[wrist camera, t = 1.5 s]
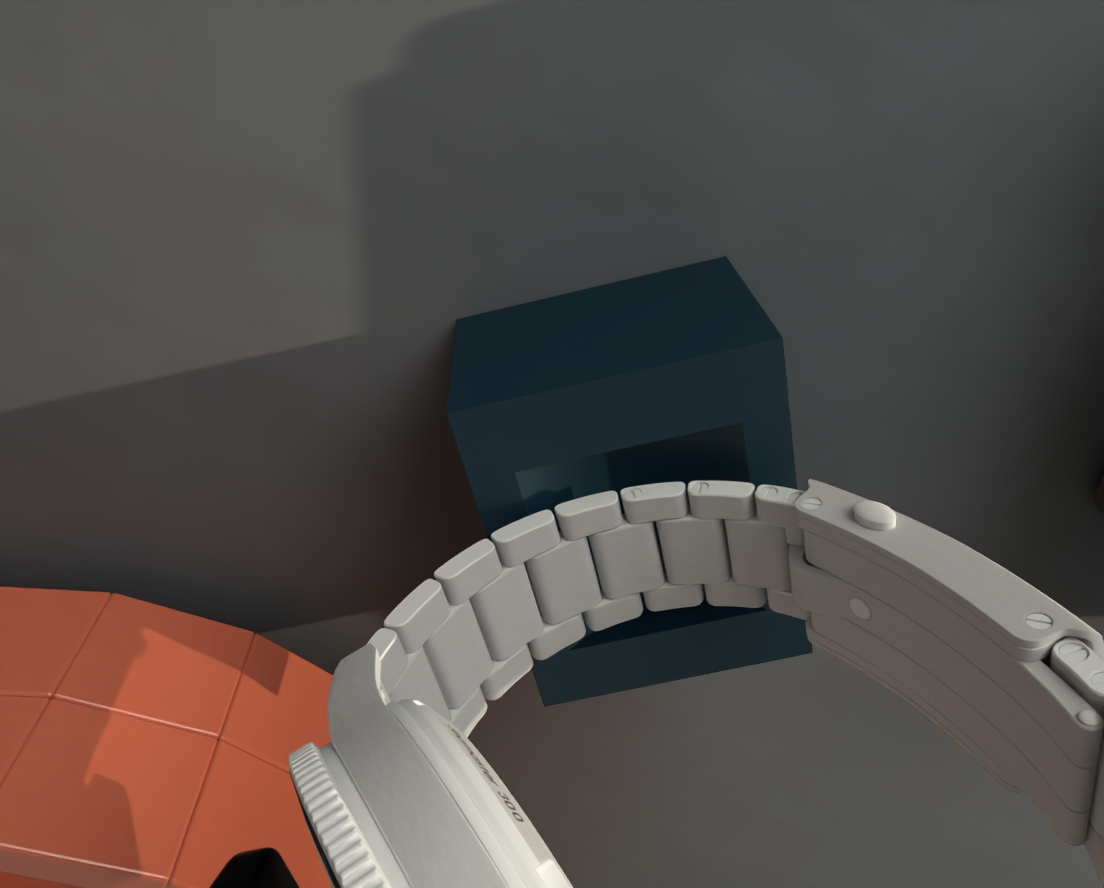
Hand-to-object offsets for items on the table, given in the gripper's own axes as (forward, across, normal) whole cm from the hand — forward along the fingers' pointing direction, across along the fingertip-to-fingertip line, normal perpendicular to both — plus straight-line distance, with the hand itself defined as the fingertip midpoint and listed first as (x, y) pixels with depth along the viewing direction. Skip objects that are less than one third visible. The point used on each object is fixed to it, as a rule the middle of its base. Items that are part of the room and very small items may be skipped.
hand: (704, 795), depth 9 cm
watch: (+7, 0, 0) cm, 7 cm away
